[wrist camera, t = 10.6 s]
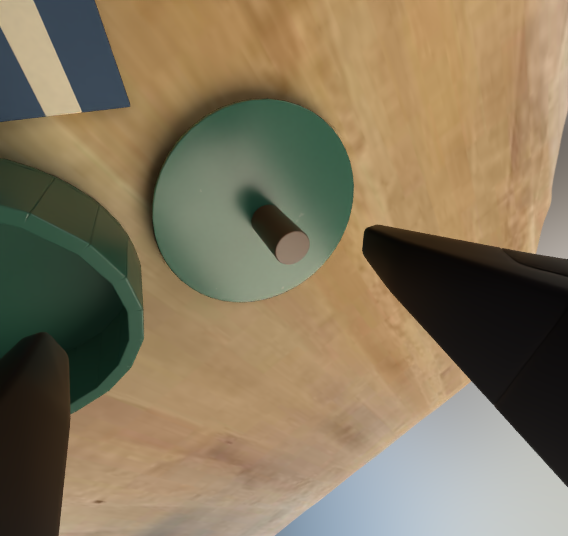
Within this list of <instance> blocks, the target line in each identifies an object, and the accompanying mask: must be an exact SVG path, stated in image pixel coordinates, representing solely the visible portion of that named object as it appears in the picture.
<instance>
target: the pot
mask: <svg viewBox="0 0 568 536" xmlns="http://www.w3.org/2000/svg"><path fill="white" fill-rule="evenodd" d="M39 332H47V333H49V334H50V335H51V336H52V337H53V338H54V339H55V340H56V342H57V343H58V344H59V345H60V346H61V347H62V348H63V349H64V350H65V352H66V353H67V355H68V359H69V380H70V414H72V413H74V412H76V411H78V410H79V409H81V408H82V407H84V406H86V405H87V404H89V403H90V402H92V401H94V400H95V399H97V398H98V397H100V396H101V395H103V394H105V393H106V392H107V391H109V390H110V389H111V388H112V387H113V386H114V385H115V384H116V383H117V382H118V381H119V380H120V379H121V378H122V377H123V376H124V374H125V373H126V372H127V371H128V370H129V369H130V368H131V366H132V365H133V363H134V360H135V358H136V356H137V353H138V351H139V349H140V347H141V344H142V342H143V340H144V319H143V296H142V278H141V265H140V261H139V259H138V256H137V253H136V250H135V248H134V245H133V244H132V242H131V240H130V238H129V236H128V235H127V233H126V232H125V231H124V229H123V228H122V227H121V225H120V224H119V223H118V222H117V220H116V219H115V218H114V217H113V216H112V215H111V214H110V213H109V212H108V211H107V210H106V209H104V208H103V207H102V206H101V205H100V204H98V203H97V202H96V201H95V200H93V199H92V198H91V197H89V196H88V195H86V194H85V193H83V192H82V191H80V190H79V189H77V188H76V187H74V186H72V185H70V184H68V183H66V182H64V181H62V180H60V179H58V178H57V177H54V176H52V175H50V174H47V173H45V172H42V171H40V170H37V169H35V168H32V167H29V166H26V165H23V164H20V163H16V162H13V161H10V160H6V159H1V158H0V359H1V358H2V357H3V356H4V355H5V354H6V353H7V352H8V351H9V350H10V349H12V348H13V347H14V346H15V345H16V344H17V343H18V342H19V341H20V340H21V339H22V338H24V337H27V336H30V335H33V334H36V333H39Z"/></svg>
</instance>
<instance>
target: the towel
mask: <svg viewBox="0 0 568 536" xmlns="http://www.w3.org/2000/svg"><path fill="white" fill-rule="evenodd" d="M124 107H130V102H129V100H128V97H127V94H126V91H125V88H124V85H123V82H122V79H121V76H120V73H119V70H118V67H117V64H116V62H115V59H114V56H113V53H112V50H111V47H110V44H109V41H108V38H107V35H106V32H105V29H104V26H103V23H102V21H101V18H100V15H99V12H98V9H97V6H96V3H95V0H0V122H4V121H12V120H21V119H30V118H38V117H47V116H56V115H64V114H73V113H81V112H90V111H98V110H107V109H116V108H124Z"/></svg>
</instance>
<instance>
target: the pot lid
mask: <svg viewBox="0 0 568 536" xmlns="http://www.w3.org/2000/svg"><path fill="white" fill-rule="evenodd" d="M353 191H354V183H353V173H352V168H351V164H350V160H349V157H348V155H347V152H346V149H345V148H344V146H343V144H342V142H341V140H340V138H339V137H338V136H337V134H336V133H335V132H334V130H333V129H332V128H331V127H330V126H329V125H328V124H327V123H326V122H325V121H324V120H323V119H322V118H320V117H319V116H318V115H316V114H315V113H313V112H312V111H310V110H308V109H306V108H304V107H302V106H300V105H297V104H294V103H290V102H287V101H283V100H276V99H268V98H264V99H249V100H244V101H239V102H234V103H232V104H229V105H226V106H224V107H221V108H218V109H217V110H215V111H213V112H211V113H210V114H208V115H206V116H204V117H203V118H201V119H200V120H199V121H198V122H196V123H195V124H194V125H192V126H191V127H190V128H189V129H188V130H187V131H186V132H185V133H184V134H183V135H182V136H181V137H180V138H179V139H178V141H177V142H176V143H175V145H174V146H173V148H172V149H171V151H170V152H169V153H168V155H167V157H166V159H165V161H164V163H163V165H162V167H161V169H160V171H159V174H158V177H157V180H156V184H155V187H154V193H153V200H152V221H153V228H154V234H155V238H156V241H157V244H158V248H159V250H160V252H161V254H162V256H163V258H164V260H165V261H166V263H167V264H168V266H169V267H170V269H171V270H172V271H173V272H174V273H175V274H176V275H177V276H178V278H179V279H180V280H182V281H183V282H184V283H185V284H187V285H188V286H189V287H191V288H192V289H194V290H196V291H198V292H199V293H201V294H204V295H206V296H209V297H211V298H215V299H218V300H223V301H230V302H252V301H259V300H264V299H268V298H271V297H274V296H277V295H279V294H282V293H284V292H287V291H288V290H290V289H292V288H294V287H296V286H297V285H299V284H301V283H302V282H304V281H305V280H306V279H308V278H309V277H310V276H311V275H313V274H314V273H315V272H316V271H317V270H318V269H319V268H320V267H321V266H322V265H323V264H324V263H325V261H326V260H327V259H328V258H329V257H330V255H331V254H332V252H333V251H334V250H335V248H336V246H337V245H338V243H339V241H340V240H341V238H342V235H343V233H344V231H345V229H346V226H347V223H348V221H349V217H350V213H351V209H352V203H353Z"/></svg>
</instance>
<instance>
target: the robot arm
mask: <svg viewBox="0 0 568 536" xmlns="http://www.w3.org/2000/svg"><path fill="white" fill-rule="evenodd" d="M362 251H363V255H364V257H365V258H366V259H367V261H368V262H369V264H370V265H371V266H372V268H373V269H374V270H375V272H376V273H377V274H378V276H379V277H380V279H381V280H382V281H383V283H384V284H385V285H386V287H387V288H388V289H389V290H390V292H391V293H392V294H393V295H394V296H395V297H396V298H397V299H398V301H399V302H400V303H401V304H402V305H403V306H404V307H405V308H406V309H407V310H408V312H409V313H410V314H411V315H412V316H413V317H414V318H415V319H416V320H417V321H418V323H419V324H420V325H421V326H422V327H423V328H424V329H425V330H426V331H427V332H428V334H429V335H430V336H431V337H432V338H433V339H434V340H435V341H436V342H437V343H438V345H439V346H440V347H441V348H442V349H443V350H444V351H445V352H446V353H447V355H448V356H449V357H450V358H451V359H452V360H453V361H454V362H455V363H456V364H457V366H458V367H459V368H460V369H461V370H462V371H463V372H464V373H465V374H466V375H467V377H468V378H469V379H470V380H471V381H472V382H473V383H474V384H475V385H476V386H477V388H478V389H479V390H480V391H481V392H482V393H483V394H484V395H485V396H486V397H487V399H488V400H489V401H490V402H491V403H492V404H493V405H494V406H495V407H496V409H497V410H498V411H499V412H500V413H501V414H502V415H503V416H504V417H505V419H506V420H507V421H508V422H509V423H510V424H511V425H512V426H513V427H514V428H515V430H516V431H517V432H518V433H519V434H520V435H521V436H522V437H523V438H524V439H525V441H527V443H528V444H529V445H530V446H531V447H532V448H533V449H534V451H535V452H536V453H537V454H538V455H539V456H540V457H541V458H542V459H543V460H544V462H545V463H546V464H547V465H548V466H549V467H550V468H551V469H552V470H553V471H554V473H555V474H556V475H557V476H558V477H559V478H560V479H561V480H562V481H563V482H564V484H565V485H566V486H567V487H568V259H562V258H556V257H550V256H543V255H537V254H532V253H526V252H520V251H515V250H510V249H505V248H502V249H501V248H499V247H494V246H488V245H483V244H478V243H473V242H467V241H462V240H457V239H451V238H446V237H441V236H436V235H430V234H425V233H420V232H414V231H409V230H404V229H399V228H393V227H388V226H383V225H374V226H371V227H368V228H366V229H365V231H364V238H363V247H362ZM69 429H70V380H69V359H68V355H67V353H66V352H65V350H64V349H63V348H62V347H61V346H60V345H59V344H58V343H57V342H56V340H55V339H54V338H53V337H52V336H51V335H50V334H49V333H47V332H39V333H36V334H33V335H30V336H27V337H24V338H22V339H21V340H20V341H19V342H18V343H17V344H16V345H15V346H14V347H13V348H12V349H10V350H9V351H8V352H7V353H6V354H5V355H4V356H3V357H2V358H1V359H0V536H59V526H60V516H61V507H62V497H63V487H64V478H65V468H66V458H67V449H68V439H69Z"/></svg>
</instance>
